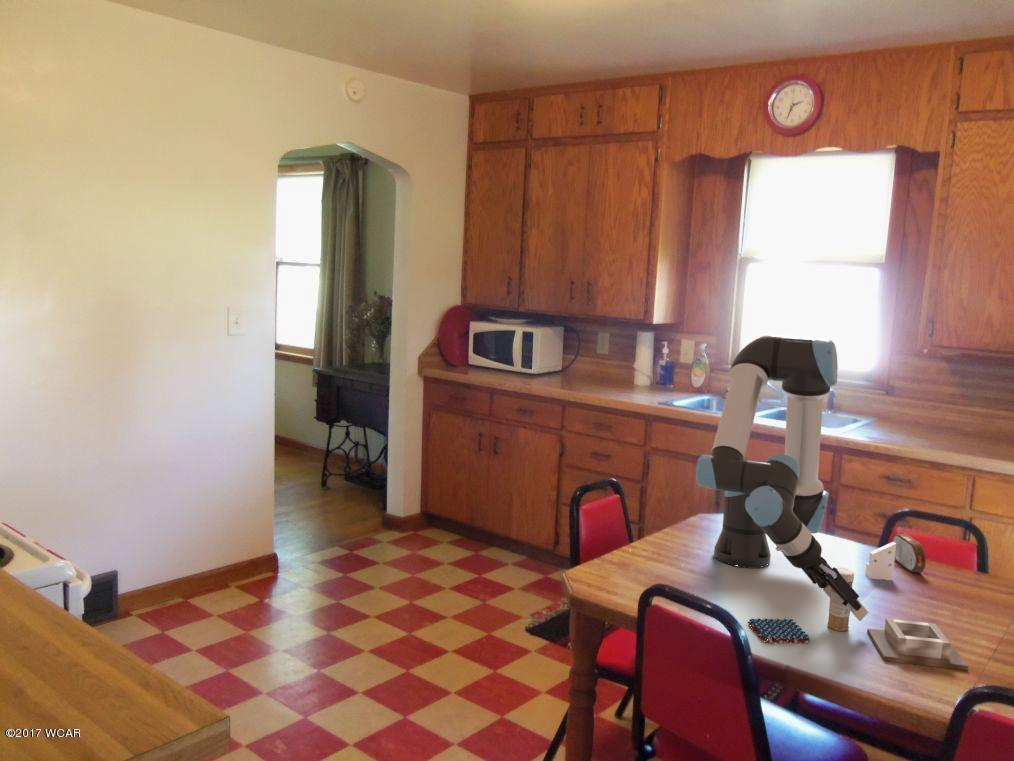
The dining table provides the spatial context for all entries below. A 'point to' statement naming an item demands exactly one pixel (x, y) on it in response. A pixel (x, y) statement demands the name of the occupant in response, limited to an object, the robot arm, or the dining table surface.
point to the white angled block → (881, 562)
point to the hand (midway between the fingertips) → (852, 609)
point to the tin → (909, 553)
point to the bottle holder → (915, 644)
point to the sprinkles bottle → (840, 605)
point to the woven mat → (778, 630)
